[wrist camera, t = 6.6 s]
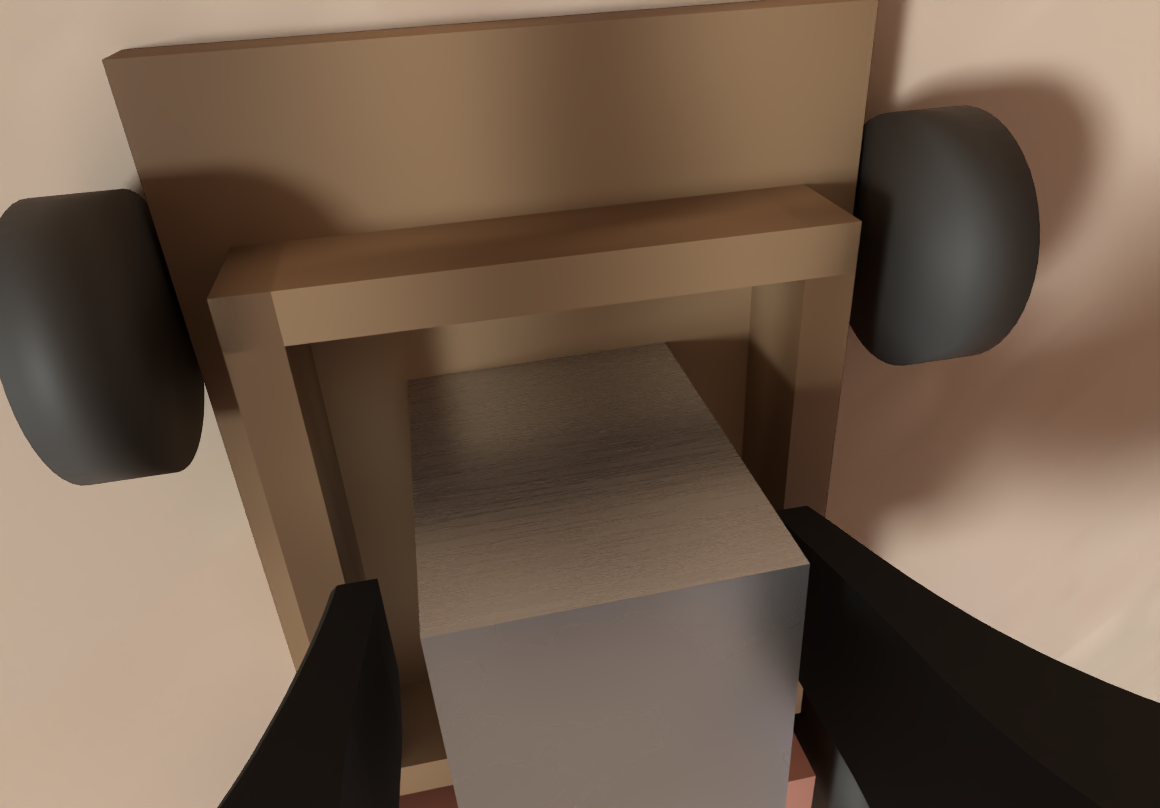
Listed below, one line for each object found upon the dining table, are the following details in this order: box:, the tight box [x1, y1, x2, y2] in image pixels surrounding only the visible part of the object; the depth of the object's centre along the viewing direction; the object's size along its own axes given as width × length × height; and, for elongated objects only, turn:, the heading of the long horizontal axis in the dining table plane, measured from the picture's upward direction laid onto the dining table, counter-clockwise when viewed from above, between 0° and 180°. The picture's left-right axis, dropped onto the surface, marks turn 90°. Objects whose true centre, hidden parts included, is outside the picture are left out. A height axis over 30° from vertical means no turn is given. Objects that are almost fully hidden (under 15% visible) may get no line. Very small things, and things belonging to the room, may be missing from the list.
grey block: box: [408, 342, 810, 808], centre depth 14 cm, size 4×6×6 cm
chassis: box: [0, 0, 1040, 808], centre depth 16 cm, size 14×20×4 cm
